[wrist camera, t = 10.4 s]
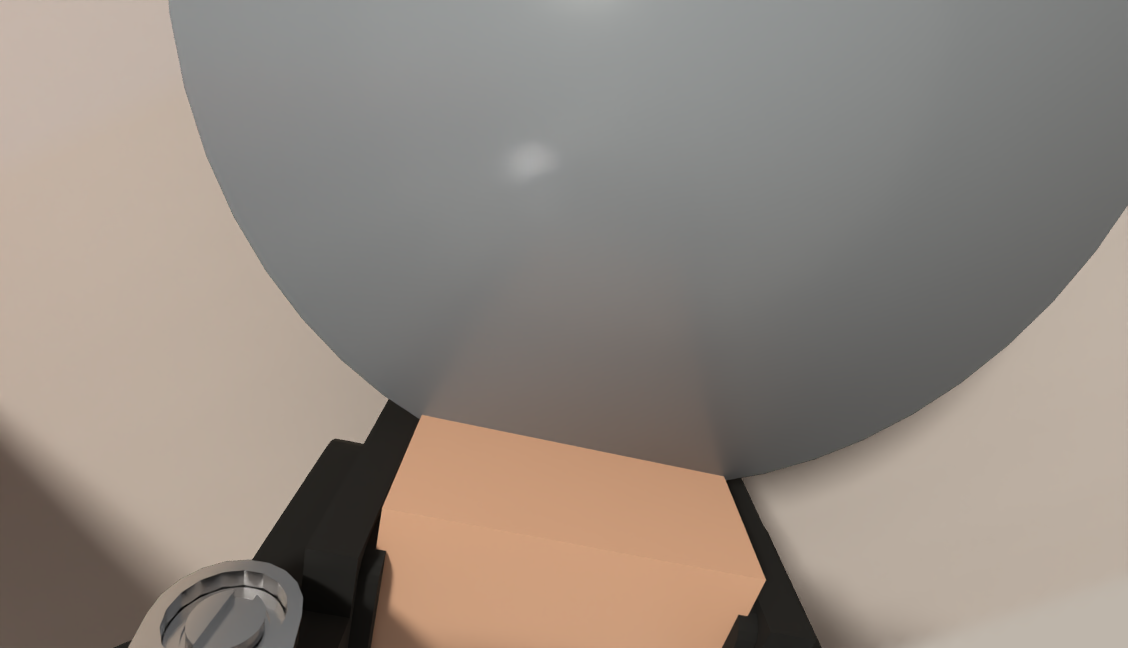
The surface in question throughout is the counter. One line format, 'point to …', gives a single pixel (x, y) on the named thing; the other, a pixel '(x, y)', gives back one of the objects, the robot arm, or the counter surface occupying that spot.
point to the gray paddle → (647, 259)
